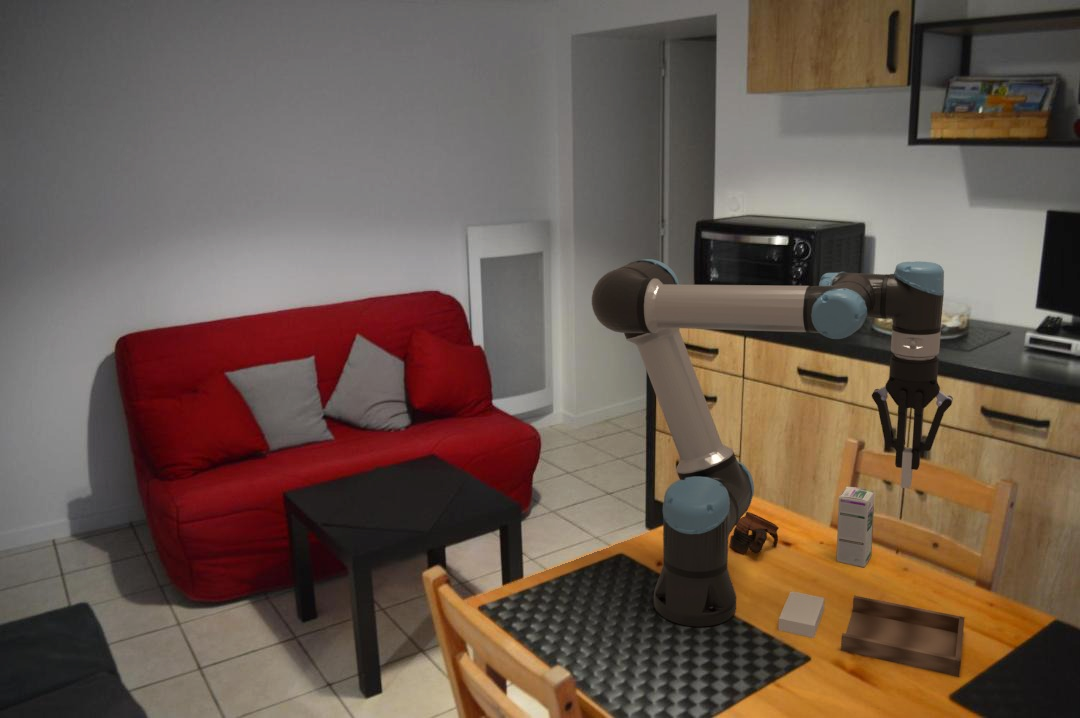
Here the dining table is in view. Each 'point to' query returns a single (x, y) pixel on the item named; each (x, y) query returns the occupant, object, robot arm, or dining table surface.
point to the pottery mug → (759, 533)
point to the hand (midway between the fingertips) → (906, 485)
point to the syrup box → (855, 526)
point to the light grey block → (801, 614)
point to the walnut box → (905, 635)
